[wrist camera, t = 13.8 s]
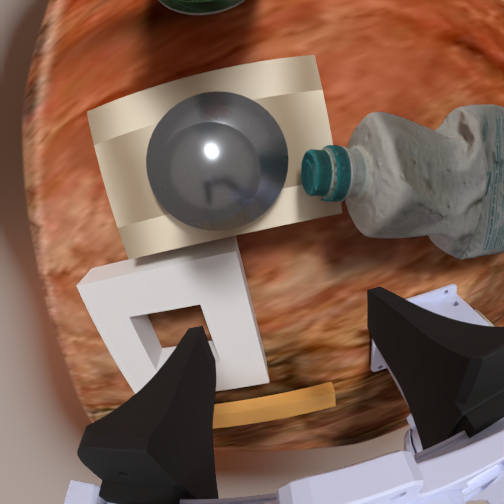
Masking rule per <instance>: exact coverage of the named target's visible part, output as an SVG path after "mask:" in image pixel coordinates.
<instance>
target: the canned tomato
mask: <svg viewBox="0 0 504 504" xmlns="http://www.w3.org/2000/svg"><path fill="white" fill-rule="evenodd" d="M158 1H159V2H160V3H161V4H162V5H164V6H165V7H167V8H169V9H170V10H173V11H175V12H178V13H182V14H187V15H210V14H216V13H220V12H224V11H226V10H229V9H232V8H234V7H236V6H238V5H239V4H241V3H243V2H244V1H245V0H158Z"/></svg>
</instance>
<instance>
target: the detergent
mask: <svg viewBox="0 0 504 504" xmlns="http://www.w3.org/2000/svg"><path fill="white" fill-rule="evenodd" d="M301 180H302V186H303V188H304V190H305V192H306V193H307V195H309V196H322V199H321V201H326V202H328V201H329V202H338V201H344V200H345V203H346V206H347V209H348V213H349V215H350V216H351V218H352V221H353V223H354V224H355V226H356V227H357V228H358V230H359V231H360V232H361V233H362V234H364V235H365V236H367V237H373V238H410V237H419V236H427V235H428V236H429V238H430V240H431V241H432V242H433V243H434V244H435V245H436V246H437V247H438V248H440V249H441V250H442V251H444V252H445V253H447V254H449V255H451V256H454V257H456V258H458V259H468V258H476V257H479V256H484V255H492V254H498V253H503V252H504V107H500V106H497V105H491V104H489V105H468V106H462V107H459V108H456V109H455V110H453V111H452V112H451V113H449V114H448V115H447V116H446V118H445V119H444V121H443V123H442V124H441V125H440V126H439V127H438V128H437V129H436V130H435V131H433V130H431V129H429V128H427V127H424V126H422V125H419V124H417V123H415V122H412V121H410V120H408V119H405V118H402V117H400V116H396V115H392V114H389V113H385V112H374V113H370V114H368V115H367V116H366V117H365V118H364V119H363V120H362V121H361V122H360V123H359V124H358V125H357V127H356V128H355V130H354V132H353V134H352V135H351V137H350V140H349V143H348V146H347V148H346V147H344V146H337V145H327V146H325V147H324V148H323V149H322V150H314V149H310V150H308V151H306V152H305V154H304V157H303V160H302V163H301Z"/></svg>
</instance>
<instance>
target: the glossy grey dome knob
mask: <svg viewBox="0 0 504 504" xmlns="http://www.w3.org/2000/svg"><path fill="white" fill-rule="evenodd" d="M288 161H289V159H288V149H287V144H286V140H285V138H284V135H283V132H282V130H281V128H280V127H279V125H278V123H277V122H276V120H275V119H274V118H273V116H272V115H271V114H270V113H269V112H268V111H267V110H266V109H265V108H263V107H262V106H261V105H260V104H258V103H256V102H255V101H253V100H251V99H249V98H247V97H245V96H242V95H239V94H235V93H230V92H220V91H214V92H206V93H201V94H197V95H194V96H192V97H189V98H187V99H185V100H183V101H181V102H180V103H178V104H177V105H175V106H174V107H173V108H171V109H170V110H169V111H168V112H167V113H166V114H165V115H164V116H163V117H162V119H161V120H160V121H159V123H158V124H157V126H156V127H155V129H154V131H153V133H152V135H151V138H150V141H149V144H148V148H147V155H146V169H147V176H148V180H149V183H150V186H151V188H152V191H153V193H154V195H155V196H156V198H157V200H158V201H159V203H160V204H161V205H162V206H163V208H164V209H165V210H166V211H167V212H168V213H170V214H171V215H172V216H173V217H175V218H176V219H177V220H179V221H181V222H183V223H184V224H187V225H189V226H192V227H195V228H198V229H202V230H209V231H223V230H230V229H235V228H238V227H241V226H244V225H246V224H248V223H250V222H252V221H254V220H255V219H257V218H258V217H260V216H261V215H262V214H264V213H265V212H266V211H267V210H268V209H269V208H270V207H271V206H272V204H273V203H274V202H275V201H276V199H277V198H278V196H279V194H280V192H281V190H282V188H283V186H284V183H285V180H286V177H287V172H288Z"/></svg>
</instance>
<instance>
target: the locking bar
mask: <svg viewBox="0 0 504 504" xmlns="http://www.w3.org/2000/svg"><path fill="white" fill-rule="evenodd" d="M334 406H335V390H334V388H333V385H332V382H328V383H325V384H321V385H316V386H312V387H308V388H304V389H299V390H295V391H290V392H285V393H280V394H275V395H270V396H265V397H259V398H253V399H247V400H241V401H234V402H227V403H220V404H214V415H213V429H214V428H223V427H231V426H239V425H246V424H253V423H259V422H265V421H271V420H276V419H281V418H287V417H291V416H296V415H301V414H305V413H310V412H314V411H318V410H322V409H326V408H330V407H334Z"/></svg>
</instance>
